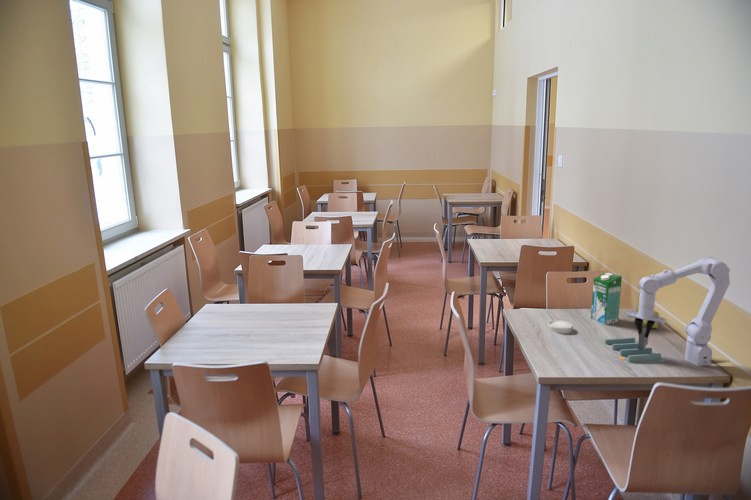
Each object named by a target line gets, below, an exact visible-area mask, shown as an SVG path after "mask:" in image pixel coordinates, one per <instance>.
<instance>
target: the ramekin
mask: <svg viewBox="0 0 751 500" xmlns="http://www.w3.org/2000/svg"><path fill="white" fill-rule="evenodd" d="M547 327H548V329H549V331H551V332H554V333H556V334H571V333H572V330H573V327H574V325H573V324H572V323H571V322H569V321H565V320H552V321H548V322H547Z"/></svg>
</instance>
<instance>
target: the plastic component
mask: <svg viewBox="0 0 751 500" xmlns="http://www.w3.org/2000/svg"><path fill="white" fill-rule="evenodd" d="M638 309H639V300H636V309H635V311H636V312H635V313H638ZM653 315H654V316H657V317H660V313H659V312H658V311H655V310H654V314H653ZM647 322H648V321H646V320H643V323H644V324H646V325H647ZM658 325H659V323H657V322H655V323H654V325H653V327H652V328H651V329H658Z"/></svg>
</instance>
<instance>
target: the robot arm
mask: <svg viewBox="0 0 751 500" xmlns="http://www.w3.org/2000/svg"><path fill="white" fill-rule="evenodd" d="M730 272H731V270H730V268H729V267H728V265H727V264H726V262H725V263H724V262H723V261H720V260H718V259H716V258H714V257H712V256H707V257H705V258H700V259H697V261H694V262H693V263H690V264H688V265H685V266H683V267H680V268H678V269H674V270H670V269H664V270H662V272H659V273H657V274H651V275H650V276H644V277H641V279H640V280H639V282H638V286H639V287H640V289H639V290H640V291H639V292H640V293H639V309H638V313H637V312H633V311H632V312H631V311H627V312H626V313H625V318H630V319H631V318H632V319H634V320H633V321H634V324H635V326H636V328H637V333H638V335H639V333H640V332H641V331H642V329H643V325H644V324H643V323H644V320H646V321H648V322H647V324H646V328H647V329H646V338H648V339H649V336H650V333H651V330H652V329H653V328H652V327H653V325H654V323H655V322H657V323H658V324H662V325H665V323H666V318H665V317H664V318H663V317H660V316H659V317H657V316H654V315H653V314H654V311H655V303H656V293H657V292H658V291H659V289H663V288H664V287H666V286H670V285H673V284H676V282H677V280H678V279H681V278H684V277H685V278H686V277H687V276H693V275H695V274H702V275H708V276H709V278H710V281H711V282H712V283H711V285H710V288H709V290H708V292H707V294H706V296H705V298H704V301H703V303H702V305H701V306H700V309H699V311H698V314H697V316H696V317H694V318H692V319H691V321H690V322H689V323H688V324H687V325H686V326H685V328H684V331H685V333H686V335H687V337H686V344H685V345H686V346H685V353H684V360H686V361H687V362H689V363H690V364H691V363H692V364H693V365H695V366H697V367H701V366H709V367H713V364H712V358H713V357H712V356H713V349H712V348H711V347H710V346H709V345H708V343H709V342H710V341H711V339H712V331H713V327H712V321H713V319H714V318H715V315H716V313H717V311H718V309H719V307H720V306H721V305H720V304H721V303H722V301H723V298H724V296H725V294H726V293H727V290H728V288H729V286H730V284H731V283H730V282H731V281H730Z"/></svg>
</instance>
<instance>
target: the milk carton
mask: <svg viewBox="0 0 751 500" xmlns="http://www.w3.org/2000/svg"><path fill="white" fill-rule="evenodd" d="M622 277H623V276H622V275H618V274H615V273H612V272H611V273H610V272H605V273H602V274H601V275H598V276H596V277H594V278H593V285H592V286H593V287H592V298H591V299H592V300H591V311H590V313H591V315H590V319H591V320H593V319H594V320H593V321H595V320H596V322H597V321H599V322H598V323H600V322H601V323H600V324H602V323H604V324H607V325H609V324H608V323H613V322H618V323H619V315H620V303H621V302H620V301H621V291H622V290H621V289H622V279H623V278H622ZM604 324H603V325H604ZM613 324H614V323H613Z"/></svg>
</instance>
